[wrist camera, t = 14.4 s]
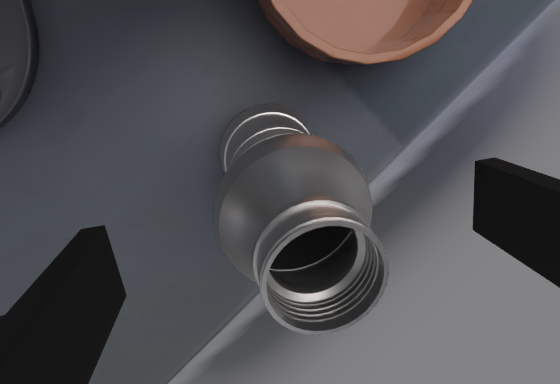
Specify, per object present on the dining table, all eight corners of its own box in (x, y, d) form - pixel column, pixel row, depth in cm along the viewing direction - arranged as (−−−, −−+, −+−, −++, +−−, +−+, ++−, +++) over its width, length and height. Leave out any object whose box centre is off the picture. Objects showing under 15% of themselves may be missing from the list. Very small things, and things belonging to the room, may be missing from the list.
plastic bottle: (322, 151, 30) (478, 288, 11) (253, 201, 31) (294, 412, 12) (274, 82, 28) (368, 111, 9) (202, 137, 29) (152, 270, 10)
